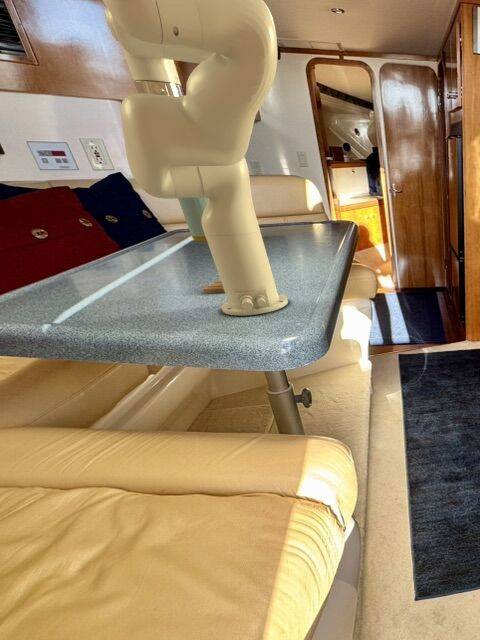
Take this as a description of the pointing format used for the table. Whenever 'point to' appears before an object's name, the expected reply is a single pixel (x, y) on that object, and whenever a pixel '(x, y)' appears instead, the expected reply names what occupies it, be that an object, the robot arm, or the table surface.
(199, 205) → the bottle
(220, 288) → the trivet
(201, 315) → the table surface
